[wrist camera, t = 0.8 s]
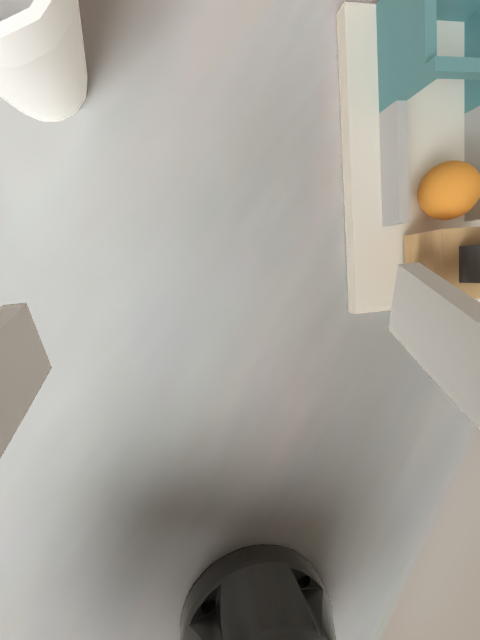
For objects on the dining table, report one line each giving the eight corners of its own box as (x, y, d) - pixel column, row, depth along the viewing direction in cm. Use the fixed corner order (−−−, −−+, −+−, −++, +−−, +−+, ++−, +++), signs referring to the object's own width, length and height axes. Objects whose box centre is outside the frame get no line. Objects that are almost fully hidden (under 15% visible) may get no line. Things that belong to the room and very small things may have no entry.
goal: (473, 114, 35) (548, 74, 28) (379, 113, 33) (435, 70, 26) (473, 10, 34) (551, -57, 27) (375, 3, 32) (433, -71, 25)
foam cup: (100, 17, 29) (52, -184, 16) (116, 140, 30) (82, 41, 18) (-34, 12, 27) (-204, -219, 15) (-12, 142, 28) (-150, 34, 16)
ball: (451, 222, 36) (496, 213, 31) (405, 225, 35) (445, 216, 30) (451, 169, 35) (497, 151, 30) (404, 170, 34) (444, 152, 29)
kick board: (485, 297, 39) (520, 299, 36) (348, 312, 36) (370, 316, 32) (487, 23, 36) (526, -8, 32) (336, 13, 33) (359, -22, 29)
